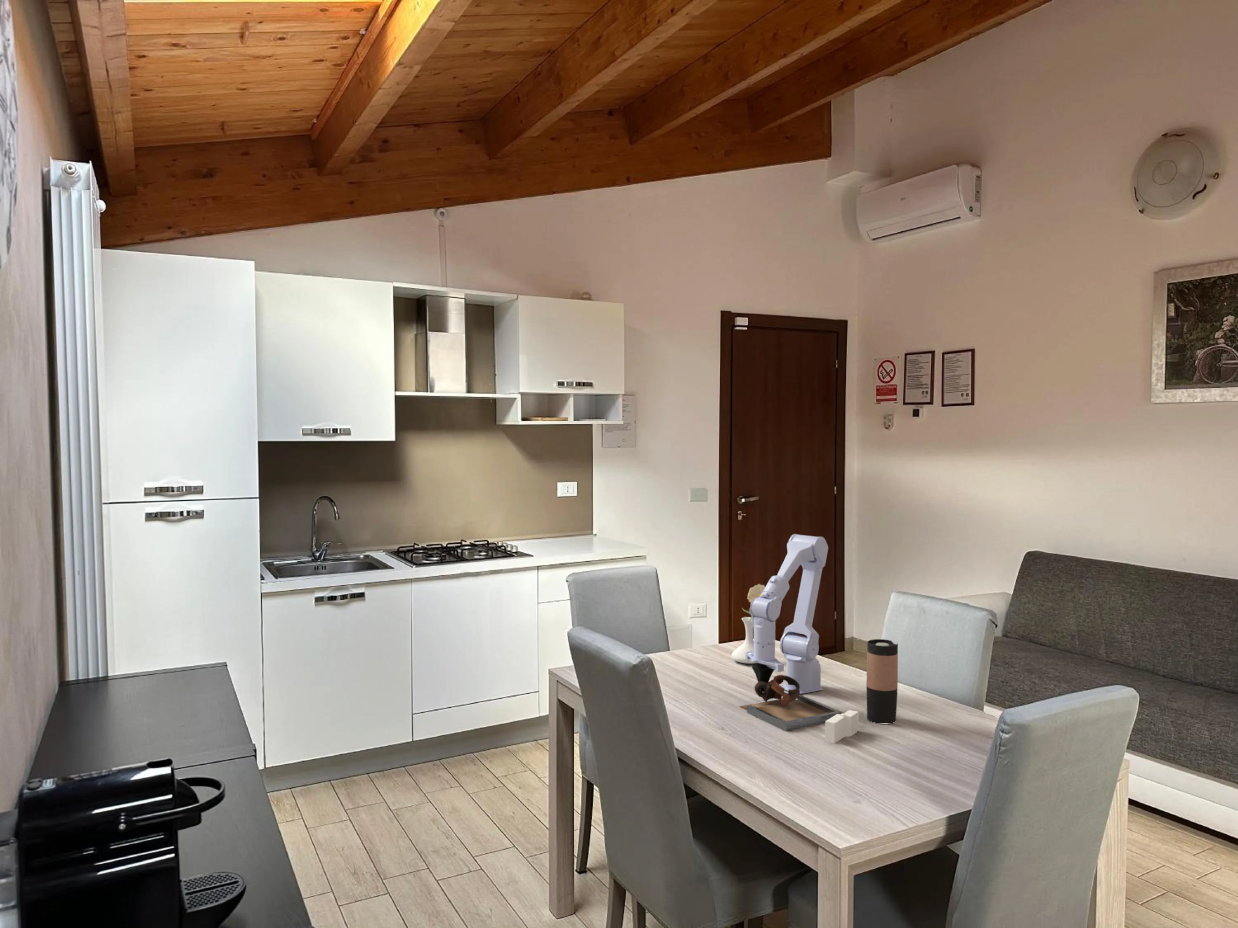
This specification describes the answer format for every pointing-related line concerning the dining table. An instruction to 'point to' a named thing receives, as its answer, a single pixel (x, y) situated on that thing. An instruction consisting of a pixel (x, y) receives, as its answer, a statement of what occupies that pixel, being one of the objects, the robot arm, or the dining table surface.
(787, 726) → the curbs
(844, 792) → the dining table surface
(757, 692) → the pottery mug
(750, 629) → the flower in vase
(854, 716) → the white stepped block
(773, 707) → the brown flat board
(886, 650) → the travel mug
